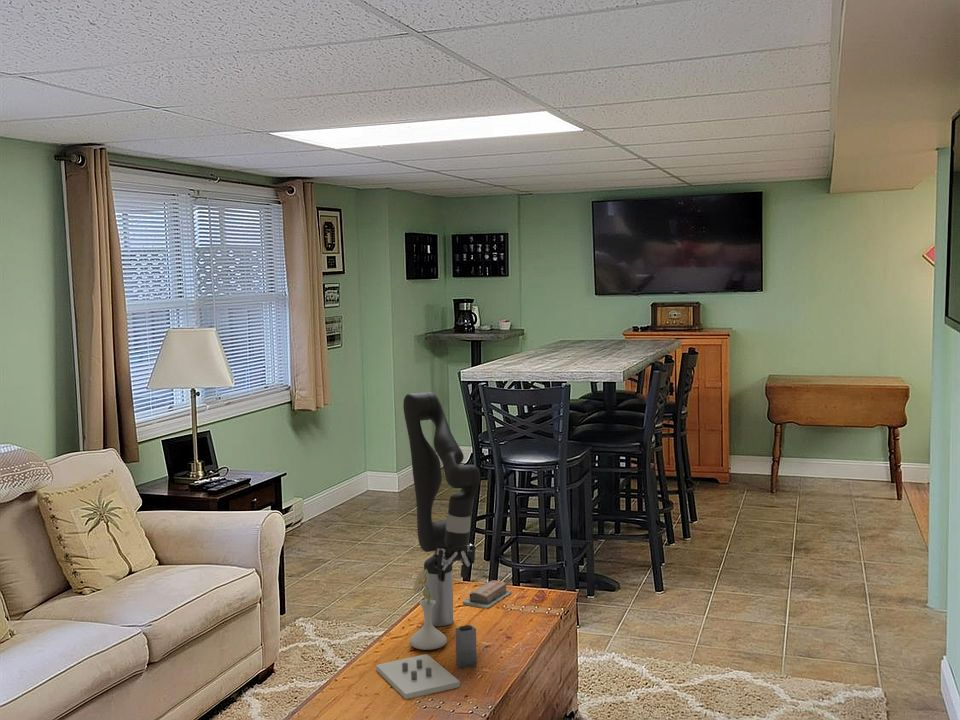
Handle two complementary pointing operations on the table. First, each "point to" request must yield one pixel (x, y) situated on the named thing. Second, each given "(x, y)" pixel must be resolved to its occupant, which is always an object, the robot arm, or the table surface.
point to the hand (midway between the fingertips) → (452, 579)
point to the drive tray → (417, 676)
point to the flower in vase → (426, 619)
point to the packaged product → (487, 594)
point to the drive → (466, 647)
